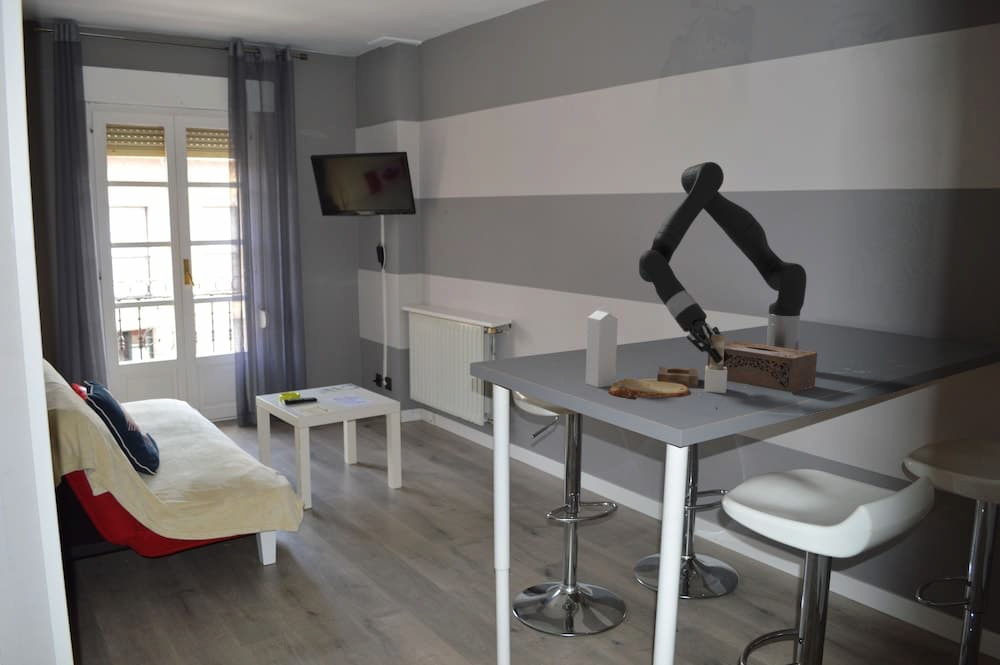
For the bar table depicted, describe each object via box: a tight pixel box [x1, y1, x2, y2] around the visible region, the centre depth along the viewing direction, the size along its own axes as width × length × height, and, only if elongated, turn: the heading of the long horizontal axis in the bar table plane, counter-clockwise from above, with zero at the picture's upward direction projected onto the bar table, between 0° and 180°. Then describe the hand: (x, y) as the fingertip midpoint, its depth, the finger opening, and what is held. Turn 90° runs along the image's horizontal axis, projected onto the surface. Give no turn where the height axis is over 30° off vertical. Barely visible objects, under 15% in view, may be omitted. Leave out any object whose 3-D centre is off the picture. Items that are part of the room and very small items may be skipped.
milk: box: [585, 305, 618, 388], centre depth 220 cm, size 6×6×22 cm
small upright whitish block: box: [704, 365, 728, 394], centre depth 215 cm, size 6×6×7 cm
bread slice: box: [607, 378, 691, 400], centre depth 212 cm, size 18×18×4 cm
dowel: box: [710, 333, 726, 370], centre depth 214 cm, size 4×4×15 cm
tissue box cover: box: [707, 340, 818, 394], centre depth 228 cm, size 26×14×10 cm, turn 43°
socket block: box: [657, 366, 699, 388], centre depth 225 cm, size 11×11×4 cm
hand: (723, 360), depth 212 cm, fingers closed on dowel, 3 cm apart
